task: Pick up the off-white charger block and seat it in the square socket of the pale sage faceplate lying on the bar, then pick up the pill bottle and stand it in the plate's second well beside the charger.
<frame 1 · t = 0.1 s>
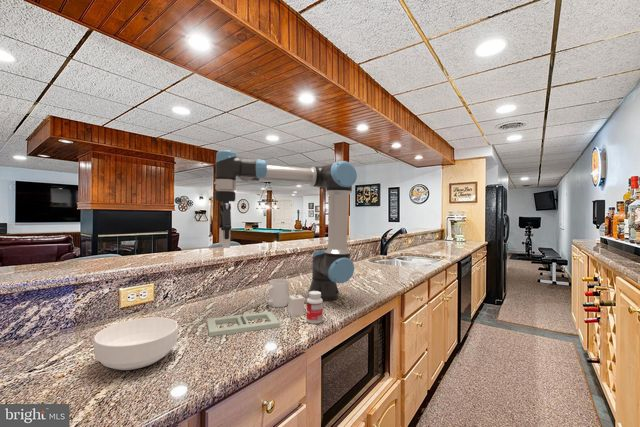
hand: (224, 245, 115), 28 cm above the worktop, fingers open, 13 cm apart
pill bottle: (314, 321, 114), on the worktop
faceplate: (243, 324, 109), on the worktop
charger block: (295, 314, 122), on the worktop
mug: (275, 306, 132), on the worktop
bowl: (137, 361, 82), on the worktop
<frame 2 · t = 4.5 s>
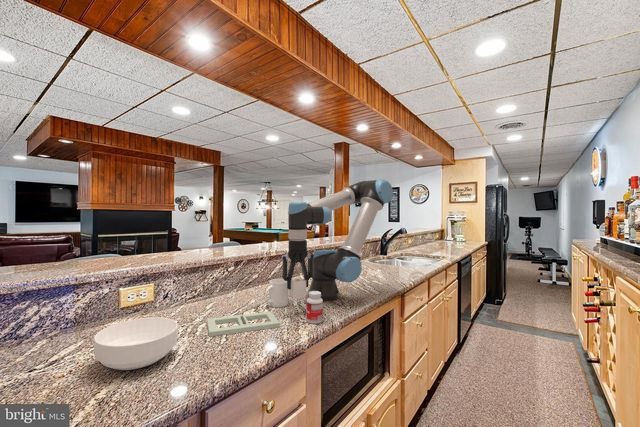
hand: (297, 295, 122), 7 cm above the worktop, fingers closed on charger block, 5 cm apart
charger block: (297, 296, 122), point 7 cm above the worktop, touching gripper
everything else where it was.
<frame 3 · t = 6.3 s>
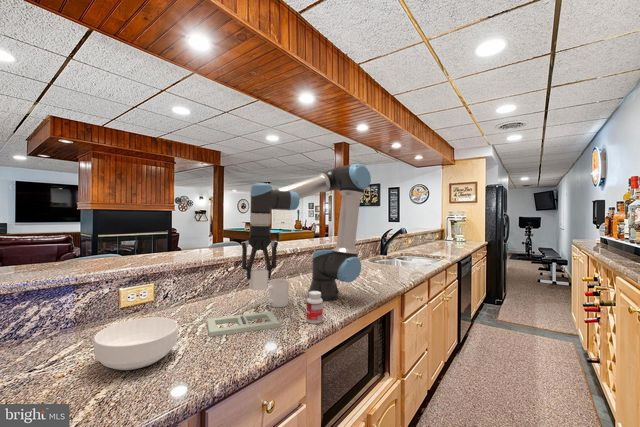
hand: (258, 287, 111), 13 cm above the worktop, fingers closed on charger block, 5 cm apart
charger block: (258, 288, 111), point 13 cm above the worktop, touching gripper
everything else where it was.
when the fingers open (2 cm above the worktop, at t = 8.2 s): charger block drops 1 cm, resting in faceplate.
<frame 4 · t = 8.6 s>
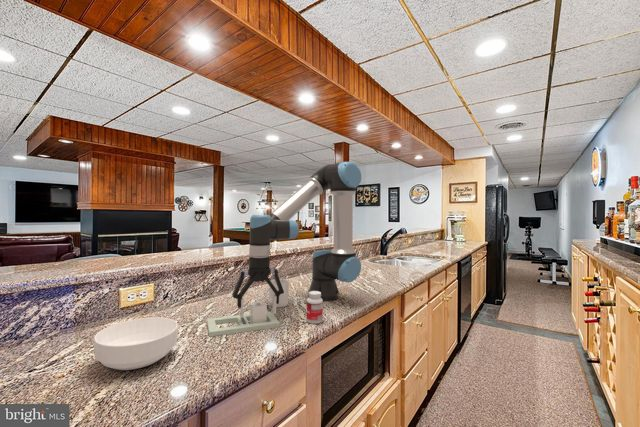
hand: (258, 314, 111), 3 cm above the worktop, fingers open, 11 cm apart
charger block: (258, 323, 111), resting in faceplate
everything else where it was.
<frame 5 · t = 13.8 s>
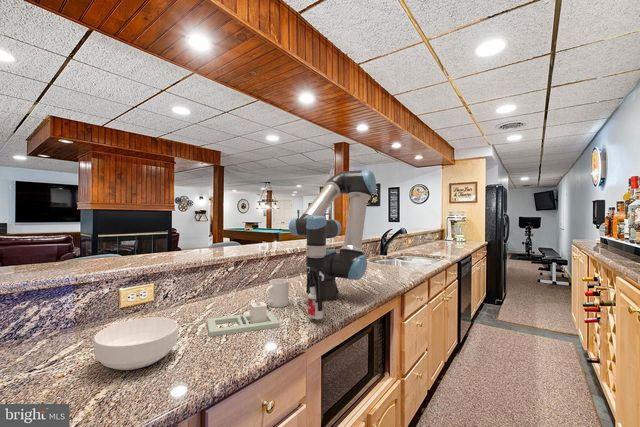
hand: (315, 315, 115), 2 cm above the worktop, fingers closed on pill bottle, 6 cm apart
pill bottle: (315, 316, 115), point 1 cm above the worktop, touching gripper
everything else where it was.
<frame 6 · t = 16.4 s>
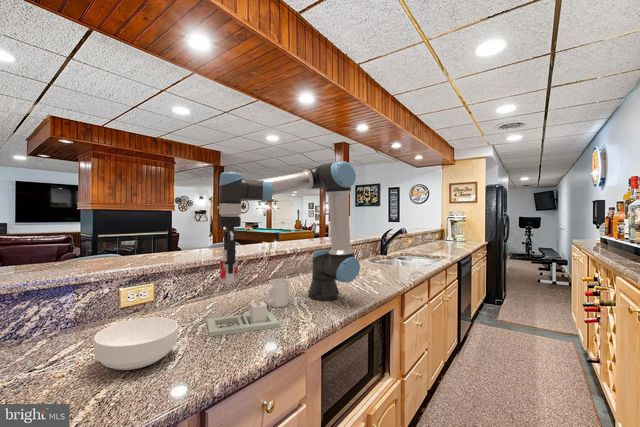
hand: (228, 280, 106), 17 cm above the worktop, fingers closed on pill bottle, 6 cm apart
pill bottle: (228, 281, 106), point 16 cm above the worktop, touching gripper
everything else where it was.
when the fingers open (3 cm above the worktop, at t = 19.3 s): pill bottle drops 2 cm, resting in faceplate.
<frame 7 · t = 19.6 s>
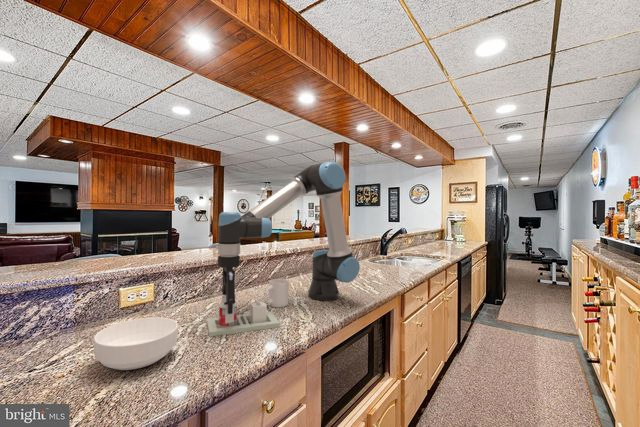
hand: (227, 317, 106), 3 cm above the worktop, fingers open, 10 cm apart
pill bottle: (227, 327, 107), resting in faceplate
everything else where it was.
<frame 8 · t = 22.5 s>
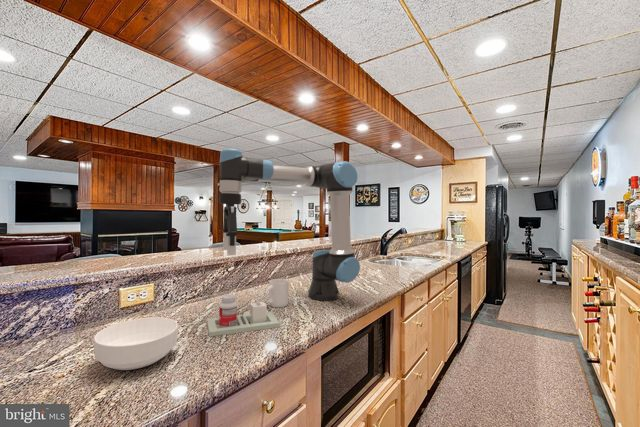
hand: (229, 252, 106), 27 cm above the worktop, fingers open, 13 cm apart
nothing on the worktop moved.
at the end: charger block 0.0 cm from the target spot on the faceplate, point 0.0 cm above the faceplate's base; pill bottle 0.2 cm from the target spot on the faceplate, point 0.0 cm above the faceplate's base; pill bottle touching worktop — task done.
